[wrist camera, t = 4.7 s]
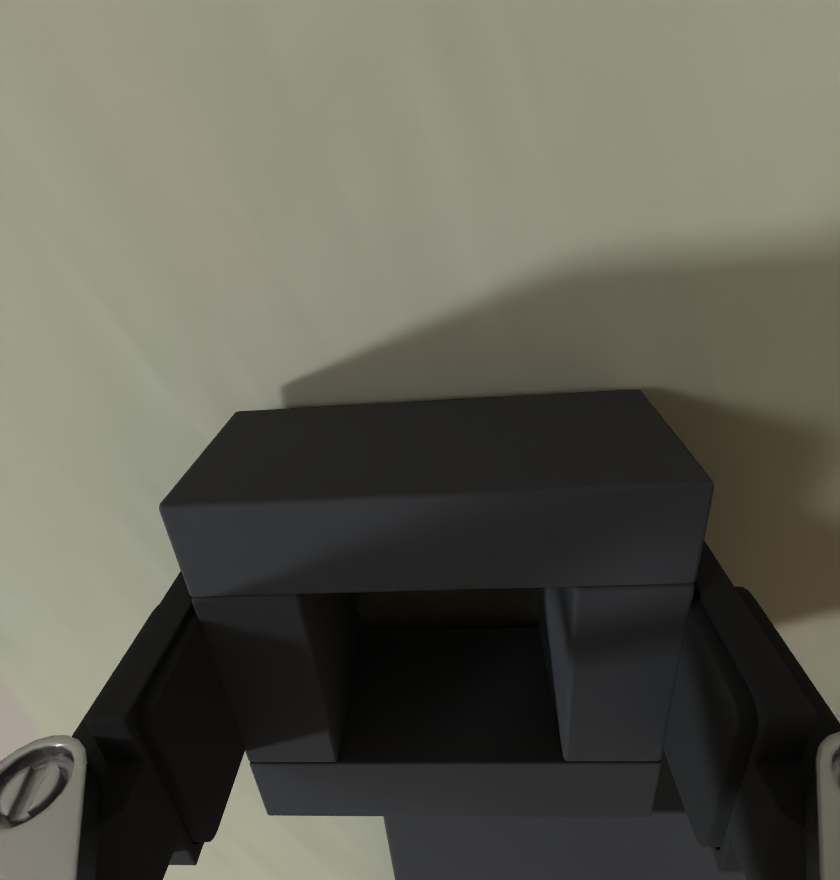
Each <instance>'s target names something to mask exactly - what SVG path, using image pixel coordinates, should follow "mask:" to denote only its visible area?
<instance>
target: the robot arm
mask: <svg viewBox="0 0 840 880" xmlns="http://www.w3.org/2000/svg"><path fill="white" fill-rule="evenodd" d="M693 583H694V586H695V587H694V594H693V599H692V604H691V609H690V610H689V612H688V617H687V622H686V627H685V633H684V638H683V643H682V648H681V653H680V659H679V664H678V669H677V674H676V680H675V685H674V690H673V695H672V701H671V706H670V711H669V716H668V722H667V727H666V732H665V737H664V742H663V749H664V752H665V755H666V758H667V760H668V763H669V766H670V769H671V772H672V775H673V777H674V780H675V783H676V786H677V789H678V791H679V794H680V797H681V800H682V803H683V805H684V808H685V811H686V814H687V817H688V820H689V822H690V825H691V828H692V831H693V833H694V836H695V838H696V840H697V842H698V844H699V845H700V846H701V847H710V848H711V851H712V854H713V856H714V859H715V862H716V864H717V867H718V870H719V872H732V873H744V875H745V878H746V880H840V723H839V722H838V720H837V719H836V717H835V716H834V714H833V713H832V711H831V710H830V708H829V707H828V705H827V704H826V702H825V701H824V699H823V698H822V697H821V695H820V694H819V692H818V691H817V689H816V688H815V686H814V685H813V683H812V682H811V680H810V679H809V677H808V676H807V674H806V673H805V672H804V670H803V669H802V667H801V666H800V664H799V663H798V661H797V660H796V658H795V657H794V655H793V654H792V652H791V651H790V649H789V648H788V647H787V645H786V644H785V642H784V641H783V639H782V638H781V636H780V635H779V633H778V632H777V630H776V629H775V627H774V626H773V624H772V623H771V622H770V620H769V619H768V617H767V616H766V614H765V613H764V611H763V610H762V608H761V607H760V605H759V604H758V602H757V601H756V599H755V598H754V597H753V595H752V594H751V593H750V592H749V591H748V590H747V589H745V588H743V587H734V586H733V584H732V583H731V581H730V579H729V578H728V576H727V575H726V573H725V572H724V570H723V569H722V567H721V566H720V564H719V563H718V561H717V560H716V558H715V556H714V555H713V553H712V552H711V550H710V549H709V547H708V546H707V544H706V543H705V541H703V547H702V552H701V557H700V562H699V567H698V573H697V578H696V581H695V582H693ZM192 597H193V596H191V595H190V594H189V591H188V589H187V586H186V583H185V580H184V577H183V575H182V572H180V573H179V575H178V576H177V578H176V580H175V581H174V583H173V584H172V586H171V587H170V589H169V590H168V592H167V594H166V595H165V597H164V598H163V600H162V601H161V603H160V604H159V605H158V606H157V607H156V608H155V610H154V611H153V612H152V613H151V615H150V617H149V618H148V620H147V621H146V623H145V624H144V626H143V627H142V629H141V630H140V632H139V634H138V635H137V637H136V638H135V640H134V641H133V643H132V644H131V646H130V647H129V649H128V651H127V652H126V654H125V655H124V657H123V658H122V660H121V661H120V663H119V664H118V666H117V667H116V669H115V671H114V672H113V674H112V675H111V677H110V678H109V680H108V681H107V683H106V684H105V686H104V688H103V689H102V691H101V692H100V694H99V695H98V697H97V698H96V700H95V701H94V703H93V705H92V706H91V708H90V709H89V711H88V712H87V714H86V715H85V717H84V718H83V720H82V721H81V723H80V725H79V726H78V728H77V729H76V731H75V732H74V734H73V735H72V737H70V736H67V735H60V736H49V737H46V738H42V739H38V740H35V741H33V742H31V743H29V744H27V745H25V746H23V747H21V748H19V749H17V750H16V751H14V752H13V753H11V754H10V755H9V756H7V757H6V758H4V759H3V760H1V761H0V880H163V878H164V875H165V873H166V870H167V867H168V865H196V864H197V861H198V858H199V855H200V852H201V850H202V847H203V844H204V842H210V841H211V840H213V838H214V836H215V835H216V832H217V830H218V827H219V825H220V822H221V819H222V816H223V813H224V810H225V807H226V804H227V801H228V798H229V795H230V792H231V790H232V787H233V784H234V781H235V778H236V775H237V772H238V769H239V766H240V763H241V760H242V758H243V755H244V752H245V749H246V748H245V746H244V743H243V740H242V737H241V734H240V732H239V729H238V726H237V723H236V720H235V718H234V715H233V712H232V709H231V706H230V704H229V701H228V698H227V695H226V692H225V690H224V687H223V684H222V681H221V678H220V676H219V673H218V670H217V667H216V664H215V662H214V659H213V656H212V653H211V650H210V648H209V645H208V642H207V639H206V636H205V634H204V631H203V628H202V625H201V622H200V621H199V620H198V617H197V615H196V612H195V609H194V606H193V603H192Z"/></svg>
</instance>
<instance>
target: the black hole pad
mask: <svg viewBox="0 0 840 880" xmlns="http://www.w3.org/2000/svg"><path fill="white" fill-rule="evenodd" d="M713 489H714V484H713V481H712V480H711V478H710V477H709V476H708V475H707V473H706V472H705V471H704V470H703V468H702V467H701V466H700V465H699V463H698V462H697V461H696V460H695V458H694V457H693V456H692V455H691V453H690V452H689V451H688V450H687V448H686V447H685V446H684V445H683V443H682V442H681V441H680V439H679V438H678V437H677V436H676V434H675V433H674V432H673V431H672V429H671V428H670V427H669V426H668V424H667V423H666V422H665V421H664V419H663V418H662V417H661V416H660V414H659V413H658V412H657V411H656V409H655V408H654V407H653V406H652V404H651V403H650V402H649V401H648V399H647V398H646V397H645V396H644V394H643V393H642V392H641V391H640V390H622V391H603V392H585V393H567V394H549V395H530V396H512V397H494V398H476V399H457V400H439V401H421V402H402V403H384V404H366V405H348V406H329V407H311V408H293V409H275V410H256V411H239V412H236V413H235V414H234V415H233V416H232V417H231V419H230V420H229V421H228V422H227V423H226V425H225V426H224V427H223V428H222V429H221V431H220V432H219V433H218V434H217V436H216V437H215V438H214V439H213V440H212V442H211V443H210V444H209V445H208V446H207V448H206V449H205V450H204V451H203V453H202V454H201V455H200V456H199V457H198V459H197V460H196V461H195V462H194V463H193V465H192V466H191V467H190V468H189V470H188V471H187V472H186V473H185V474H184V476H183V477H182V478H181V479H180V480H179V482H178V483H177V484H176V485H175V487H174V488H173V489H172V490H171V491H170V493H169V494H168V495H167V496H166V497H165V499H164V500H163V501H162V502H161V503H160V506H159V510H160V513H161V516H162V519H163V522H164V524H165V527H166V530H167V533H168V536H169V538H170V541H171V544H172V547H173V549H174V552H175V555H176V558H177V561H178V563H179V566H180V569H181V572H182V575H183V577H184V580H185V583H186V586H187V589H188V591H189V594H190V595H191V596H193V597H192V603H193V606H194V609H195V612H196V615H197V617H198V620H199V621H200V622H201V625H202V628H203V631H204V634H205V636H206V639H207V642H208V645H209V648H210V650H211V653H212V656H213V659H214V662H215V664H216V667H217V670H218V673H219V676H220V678H221V681H222V684H223V687H224V690H225V692H226V695H227V698H228V701H229V704H230V706H231V709H232V712H233V715H234V718H235V720H236V723H237V726H238V729H239V732H240V734H241V737H242V740H243V743H244V746H245V748H246V749H245V751H246V754H247V757H248V760H249V761H250V766H251V769H252V772H253V775H254V778H255V780H256V783H257V786H258V789H259V792H260V794H261V797H262V800H263V803H264V805H265V808H266V811H267V814H268V815H296V816H466V817H636V818H649V817H651V815H652V810H653V805H654V799H655V794H656V789H657V784H658V779H659V774H660V768H661V759H662V755H663V742H664V737H665V732H666V727H667V722H668V716H669V711H670V706H671V701H672V695H673V690H674V685H675V680H676V674H677V669H678V664H679V659H680V653H681V648H682V643H683V638H684V633H685V627H686V622H687V617H688V612H689V610H690V609H691V604H692V599H693V594H694V587H695V586H694V583H693V582H695V581H696V578H697V573H698V567H699V562H700V557H701V552H702V547H703V541H704V536H705V531H706V526H707V521H708V515H709V510H710V505H711V500H712V495H713ZM538 587H540V599H539V627H521V628H475V629H428V630H381V631H362V626H361V620H360V615H359V609H358V603H357V598H356V592H390V591H427V590H464V589H501V588H538Z"/></svg>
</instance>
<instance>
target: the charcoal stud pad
mask: <svg viewBox="0 0 840 880" xmlns="http://www.w3.org/2000/svg"><path fill="white" fill-rule="evenodd" d="M384 822H385V827H386V833H387V838H388V843H389V849H390V854H391V860H392V865H393V870H394V876H395V880H746V878H745V875H744V873H732V872H719V870H718V867H717V864H716V862H715V859H714V856H713V854H712V851H711V848H710V847H701V846H700V845H699V844H698V842H697V840H696V838H695V836H694V833H693V831H692V828H691V825H690V822H689V820H688V817H687V814H686V811H685V808H684V805H683V803H682V800H681V797H680V794H679V791H678V789H677V786H676V783H675V780H674V777H673V775H672V772H671V769H670V766H669V763H668V760H667V758H666V755H665V752H664V751H663V755H662V759H661V768H660V774H659V779H658V784H657V789H656V794H655V799H654V805H653V810H652V815H651V817H649V818H636V817H466V816H384Z"/></svg>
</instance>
